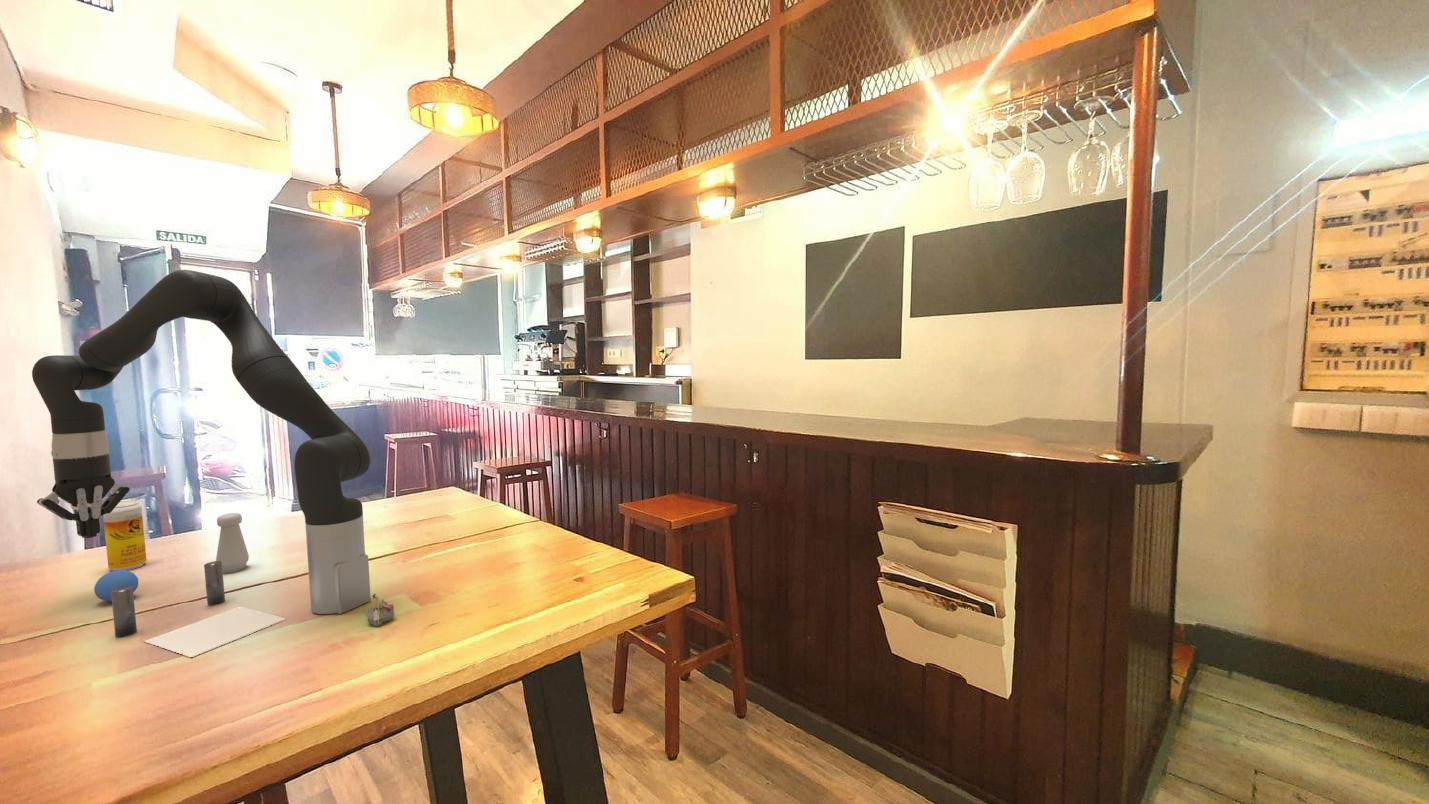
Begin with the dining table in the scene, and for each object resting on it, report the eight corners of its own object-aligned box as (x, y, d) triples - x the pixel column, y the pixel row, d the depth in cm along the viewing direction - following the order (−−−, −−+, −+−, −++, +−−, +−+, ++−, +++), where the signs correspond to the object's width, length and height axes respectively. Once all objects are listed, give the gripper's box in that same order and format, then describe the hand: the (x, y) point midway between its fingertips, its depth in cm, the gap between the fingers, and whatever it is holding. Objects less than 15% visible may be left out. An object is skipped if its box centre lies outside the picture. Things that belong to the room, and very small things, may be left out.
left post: (140, 631, 97) (135, 587, 97) (119, 638, 95) (115, 593, 94) (132, 628, 98) (128, 585, 98) (112, 635, 96) (107, 591, 95)
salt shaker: (219, 576, 121) (214, 519, 120) (213, 570, 125) (208, 515, 124) (253, 568, 126) (248, 513, 125) (246, 563, 130) (241, 509, 128)
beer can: (126, 572, 124) (120, 507, 123) (100, 572, 124) (94, 507, 123) (154, 562, 130) (148, 500, 129) (129, 562, 130) (123, 500, 129)
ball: (146, 596, 112) (143, 567, 111) (105, 608, 106) (101, 579, 106) (130, 591, 114) (127, 563, 113) (89, 603, 108) (86, 574, 108)
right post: (228, 600, 109) (224, 561, 109) (212, 606, 107) (208, 566, 106) (220, 598, 110) (217, 560, 110) (204, 604, 108) (201, 564, 107)
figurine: (370, 615, 102) (368, 586, 101) (396, 612, 104) (395, 583, 103) (363, 632, 98) (361, 602, 96) (391, 629, 99) (390, 599, 98)
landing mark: (286, 619, 101) (285, 618, 101) (191, 658, 88) (190, 657, 88) (240, 607, 106) (240, 606, 106) (144, 642, 93) (144, 641, 93)
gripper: (40, 461, 103) (50, 550, 105) (135, 450, 116) (142, 529, 117) (22, 458, 106) (31, 545, 108) (116, 447, 118) (124, 525, 120)
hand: (89, 537), depth 112 cm, fingers closed
